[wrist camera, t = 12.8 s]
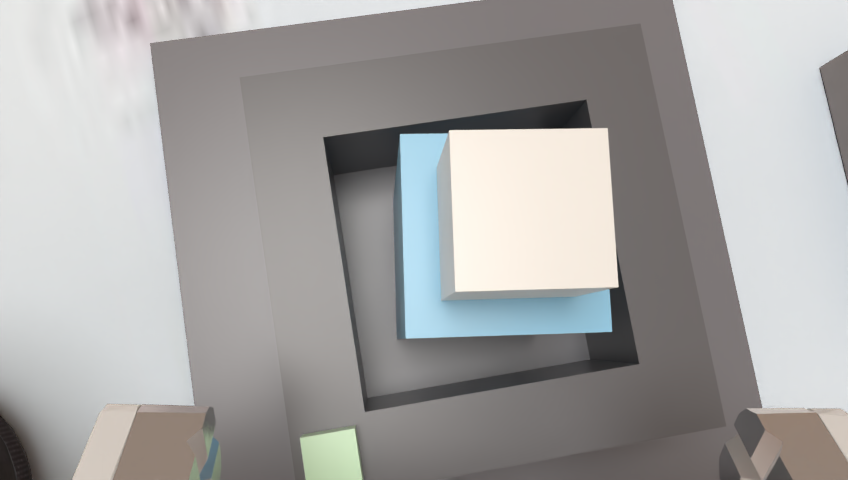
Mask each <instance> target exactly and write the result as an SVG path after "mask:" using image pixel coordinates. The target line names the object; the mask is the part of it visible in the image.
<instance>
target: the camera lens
mask: <svg viewBox="0 0 848 480" xmlns="http://www.w3.org/2000/svg"><path fill="white" fill-rule="evenodd" d="M0 480H32V477H31V470H30V466H29V463H28V460H27V456H26V454H25V452H24V450H23V447H22V445H21V443H20V441H19V440H18V438H17V436H16V434H15V433H14V431H13V429H12V428H11V427H10V426H9V425H8V424H7V423H6V422H5V420H4V419H3V418H2V417H1V416H0Z"/></svg>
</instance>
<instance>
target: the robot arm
mask: <svg viewBox="0 0 848 480" xmlns="http://www.w3.org/2000/svg"><path fill="white" fill-rule="evenodd" d="M215 425H216V419H215V414H214V409H213V407H210V406H179V405H146V404H142V405H134V404H107V405H106V406H105V407H104V408H103V410H102V411H101V412H100V413H99V415H98V418H97V420H96V423H95V425H94V427H93V430H92V432H91V435H90V437H89V439H88V442H87V444H86V447H85V449H84V452H83V454H82V456H81V459H80V461H79V464H78V466H77V468H76V471H75V473H74V476H73V478H72V480H220V474H221V451H220V444H219V442H218V441H217V440H216V439H215V438H214V437H213V434H214V430H215ZM734 426H735V428H736V430H737V432H738V434H737V435H736V436H735V437H733V438H732V439H730V440H729V441H727V442H726V443H725V444H724V447H723V449H722V452H721V454H720V457H719V477H720V480H848V414H847V413H846V412H845V411H843V410H842V409H805V408H746V409H745V410H743V411H742V412H740V413H739V415H738V417H737V419H736V421H735V423H734Z"/></svg>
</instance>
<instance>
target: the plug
mask: <svg viewBox="0 0 848 480" xmlns="http://www.w3.org/2000/svg"><path fill="white" fill-rule="evenodd" d="M393 216H394V254H395V292H396V329H397V339H409V338H440V337H471V336H502V335H533V334H564V333H595V332H612V320H611V305H610V290H609V289H612V288H617V287H618V272H617V258H616V243H615V228H614V214H613V199H612V184H611V170H610V155H609V140H608V128H580V129H505V130H449V132H448V133H442V134H400V138H399V148H398V158H397V168H396V178H395V187H394V197H393Z"/></svg>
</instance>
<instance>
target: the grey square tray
mask: <svg viewBox="0 0 848 480" xmlns="http://www.w3.org/2000/svg"><path fill="white" fill-rule="evenodd" d="M820 70H821V74H822V78H823V83H824V87H825V91H826V95H827V99H828V103H829V107H830V111H831V115H832V119H833V124H834V128H835V132H836V136H837V140H838V144H839V148H840V152H841V156H842V160H843V164H844V169H845V173H846V177H847V181H848V51H846V52H844V53H843V54H841V55H839V56H838V57H836V58H835V59H833V60H831V61H830V62H828V63H826V64H825V65H823V66H822V67H820Z"/></svg>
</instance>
